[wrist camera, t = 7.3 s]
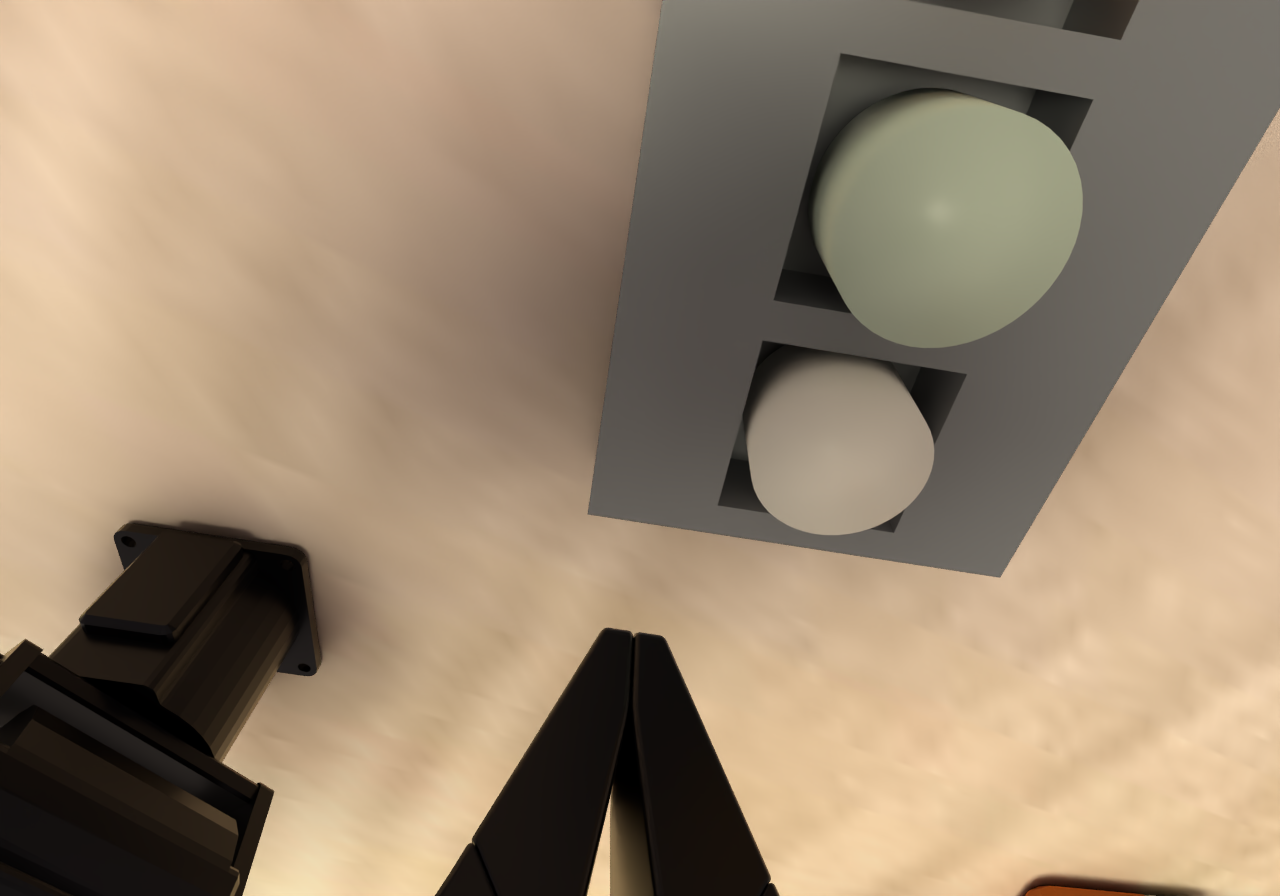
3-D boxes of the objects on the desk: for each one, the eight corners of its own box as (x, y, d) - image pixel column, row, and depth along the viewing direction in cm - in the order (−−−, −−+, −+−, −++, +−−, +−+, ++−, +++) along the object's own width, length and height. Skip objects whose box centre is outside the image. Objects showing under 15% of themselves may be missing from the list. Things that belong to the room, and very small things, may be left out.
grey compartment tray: (964, 513, 23) (1000, 577, 20) (598, 455, 22) (587, 514, 20) (1400, -321, 12) (1583, -403, 10) (733, -463, 12) (746, -587, 9)
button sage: (965, 309, 17) (1016, 364, 14) (785, 278, 17) (803, 328, 14) (1052, 108, 14) (1131, 131, 12) (843, 69, 14) (878, 85, 12)
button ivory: (870, 480, 21) (896, 546, 18) (726, 457, 21) (732, 521, 18) (925, 347, 19) (964, 403, 16) (763, 321, 18) (776, 372, 16)
